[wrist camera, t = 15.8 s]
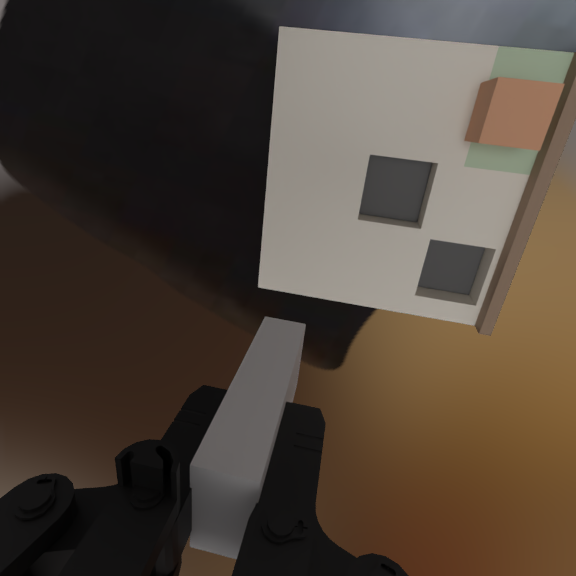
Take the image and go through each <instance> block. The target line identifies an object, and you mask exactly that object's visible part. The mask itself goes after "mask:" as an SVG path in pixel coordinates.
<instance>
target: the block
mask: <svg viewBox="0 0 576 576" xmlns="http://www.w3.org/2000/svg"><path fill="white" fill-rule="evenodd" d="M564 85H565V84H562V83H552V82H543V81H533V80H524V79H514V78H505V77H497V78H494V79H491V80H488V81H485V82H482V83H481V84H480V88H479V91H478V95H477V98H476V102H475V105H474V109H473V112H472V115H471V119H470V122H469V126H468V129H467V133H466V136H465V140H464V141H469V142H475V143H482V144H490V145H498V146H505V147H513V148H521V149H529V150H537V151H540V149H541V147H542V144H543V141H544V139H545V136H546V133H547V130H548V128H549V125H550V122H551V120H552V117H553V114H554V112H555V109H556V106H557V104H558V101H559V98H560V96H561V93H562V90H563V88H564Z"/></svg>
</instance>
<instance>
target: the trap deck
mask: <svg viewBox="0 0 576 576" xmlns="http://www.w3.org/2000/svg"><path fill="white" fill-rule="evenodd" d="M497 77H505V78H514V79H524V80H533V81H543V82H552V83H562V84H565V85H564V88H563V90H562V93H561V96H560V98H559V101H558V104H557V106H556V109H555V112H554V114H553V117H552V120H551V122H550V125H549V128H548V130H547V133H546V136H545V139H544V141H543V144H542V147H541V149H540V151H537V150H529V149H521V148H513V147H505V146H498V145H490V144H482V143H475V142H469V141H464V140H465V136H466V133H467V129H468V126H469V122H470V119H471V115H472V112H473V109H474V105H475V102H476V98H477V95H478V91H479V88H480V84H481V83H482V82H485V81H488V80H491V79H494V78H497ZM575 119H576V52H575V53H572V52H561V51H550V50H538V49H527V48H516V47H505V46H494V45H483V44H471V43H460V42H449V41H438V40H427V39H416V38H404V37H393V36H382V35H371V34H360V33H349V32H338V31H326V30H315V29H304V28H293V27H282V26H279V37H278V49H277V61H276V74H275V86H274V98H273V110H272V123H271V135H270V147H269V159H268V172H267V184H266V196H265V208H264V221H263V233H262V245H261V257H260V270H259V282H258V287H259V288H265V289H271V290H276V291H282V292H288V293H293V294H299V295H305V296H310V297H316V298H322V299H327V300H333V301H339V302H344V303H350V304H355V305H361V306H367V307H372V308H378V309H384V310H390V311H395V312H401V313H406V314H413V315H418V316H423V317H429V318H435V319H440V320H446V321H451V322H457V323H463V324H468V325H474V326H475V327H476V329H477V331H478V333H479V334H484V335H491V333H492V331H493V328H494V326H495V323H496V321H497V318H498V316H499V313H500V310H501V308H502V305H503V303H504V300H505V298H506V295H507V293H508V290H509V288H510V285H511V282H512V280H513V277H514V275H515V272H516V270H517V267H518V265H519V262H520V259H521V257H522V254H523V252H524V249H525V247H526V244H527V242H528V239H529V236H530V234H531V231H532V229H533V226H534V224H535V221H536V219H537V216H538V213H539V211H540V208H541V206H542V203H543V201H544V198H545V195H546V193H547V190H548V188H549V185H550V182H551V180H552V178H553V175H554V173H555V170H556V167H557V165H558V162H559V160H560V157H561V155H562V152H563V149H564V147H565V144H566V142H567V139H568V137H569V134H570V132H571V129H572V126H573V124H574V121H575ZM431 166H432V167H431ZM430 170H431V171H430ZM426 185H427V186H426ZM425 189H426V190H425ZM424 193H425V194H424ZM423 197H424V198H423ZM422 201H423V202H422ZM421 205H422V206H421ZM364 214H365V215H364ZM384 217H385V218H384ZM391 218H392V219H391ZM398 219H399V220H398ZM417 220H418V221H417Z"/></svg>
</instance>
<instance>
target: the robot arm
mask: <svg viewBox="0 0 576 576" xmlns="http://www.w3.org/2000/svg"><path fill="white" fill-rule="evenodd" d="M305 326H306V324H302V323H297V322H291V321H286V320H281V319H275V318H270V317H265V318H264V320H263V322H262V324H261V326H260V328H259V330H258V332H257V334H256V336H255V338H254V340H253V342H252V344H251V345H250V348H249V349H248V351H247V353H246V355H245V358H244V359H243V361H242V363H241V365H240V367H239V369H238V371H237V373H236V375H235V377H234V379H233V381H232V383H231V385H230V387H229V389H228V390H225V389H220V388H215V387H211V386H206V385H203V386H201V387H200V388H199V389H197V390H196V391H195V392H193V393H192V394H190V395H189V397H188V398H187V400H186V402H185V403H184V405H183V406H182V408H181V411H179V413H178V414H177V416H176V417H175V419H174V422H172V424H171V425H170V427H169V428H168V430H167V432H166V433H165V435H164V436H163V438H162V439H161V440H150V439H149V440H144V441H140V442H136V443H134V444H132V445H130V446H128V447H127V448H125V449H124V450H122V451H121V452H120V453H119V454H118V455H117V456H116V457H115V462H116V470H117V479H118V484H116V485H112V486H107V487H98V488H83V489H74V487H73V483H72V482H71V481H70V480H69V479H68V478H67V477H66V476H63V475H60V474H56V473H54V474H42V475H39V476H36V477H33V478H30V479H28V480H26V481H24V482H23V483H21V484H19V485H18V486H16V487H14V488H13V489H12V490H10V491H9V492H8V493H7V494H5V495H4V496H3V497H1V498H0V576H179V572H180V568H181V563H182V561H181V560H182V559H181V555H182V552H183V550H184V547H185V545H186V542H187V540H188V538H189V536H190V547H193V548H197V549H200V550H204V551H208V552H212V553H215V554H219V555H223V556H226V557H230V558H234V559H237V560H236V564H235V567H234V570H233V574H232V576H408V575H407V574H406V572H405V571H404V570H403V569H402V568H401V567H400V566H399V565H398V564H397V563H395V562H394V561H392V560H391V559H389V558H387V557H386V556H382V555H377V554H373V553H371V554H366V555H362V556H359V557H358V558H356V557H355V556H353V555H351V554H350V553H348V552H347V551H345V550H344V549H342V548H341V547H339V546H338V545H336V544H335V543H334V542H333V541H331V540H330V539H329V538H328V536H327V535H326V534H325V533H324V532H323V530H322V528H321V526H320V524H319V522H318V520H317V516H316V510H315V509H316V507H315V506H316V505H315V502H316V494H317V487H318V479H319V471H320V463H321V455H322V447H323V439H324V431H325V421H324V418H323V415H322V413H321V410H320V409H319V408H315V407H310V406H305V405H300V404H296V403H292V402H293V398H294V394H295V389H296V386H297V380H298V373H299V367H300V360H301V353H302V346H303V339H304V333H305Z"/></svg>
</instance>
